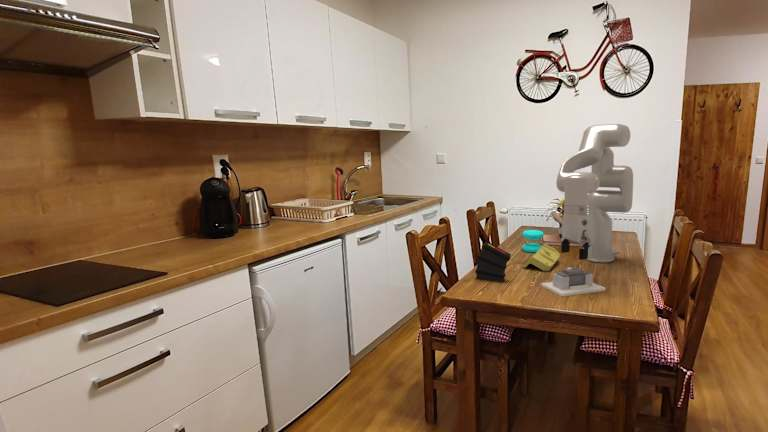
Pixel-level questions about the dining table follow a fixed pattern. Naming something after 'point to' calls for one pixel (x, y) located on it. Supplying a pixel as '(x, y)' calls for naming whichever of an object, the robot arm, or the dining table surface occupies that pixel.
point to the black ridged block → (492, 263)
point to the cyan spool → (534, 236)
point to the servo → (573, 275)
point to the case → (555, 238)
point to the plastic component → (544, 258)
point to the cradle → (562, 286)
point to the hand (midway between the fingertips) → (574, 255)
